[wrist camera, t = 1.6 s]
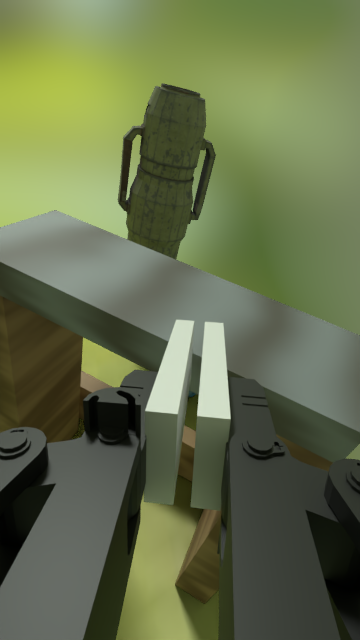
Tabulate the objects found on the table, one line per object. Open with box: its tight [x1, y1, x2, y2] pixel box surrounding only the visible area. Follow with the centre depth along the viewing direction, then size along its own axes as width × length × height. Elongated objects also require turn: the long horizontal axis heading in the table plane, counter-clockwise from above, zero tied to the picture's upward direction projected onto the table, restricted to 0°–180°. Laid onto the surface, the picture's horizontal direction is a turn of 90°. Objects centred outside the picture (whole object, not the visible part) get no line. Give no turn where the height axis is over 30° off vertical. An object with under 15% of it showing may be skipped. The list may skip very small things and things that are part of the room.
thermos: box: [118, 84, 216, 259], centre depth 49 cm, size 9×12×35 cm
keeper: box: [0, 210, 360, 604], centre depth 28 cm, size 23×12×26 cm, turn 65°
